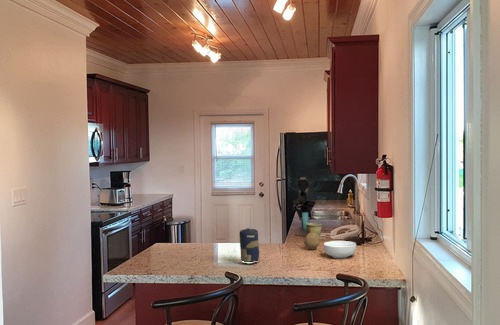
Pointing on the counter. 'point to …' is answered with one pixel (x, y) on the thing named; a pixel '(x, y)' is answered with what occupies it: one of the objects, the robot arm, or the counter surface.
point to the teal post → (305, 220)
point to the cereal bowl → (340, 248)
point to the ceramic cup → (314, 228)
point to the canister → (249, 245)
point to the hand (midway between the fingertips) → (304, 216)
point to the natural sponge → (312, 241)
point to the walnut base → (302, 233)
